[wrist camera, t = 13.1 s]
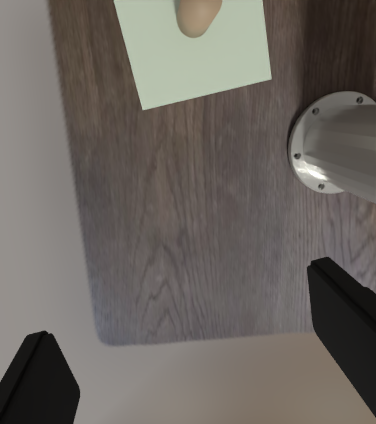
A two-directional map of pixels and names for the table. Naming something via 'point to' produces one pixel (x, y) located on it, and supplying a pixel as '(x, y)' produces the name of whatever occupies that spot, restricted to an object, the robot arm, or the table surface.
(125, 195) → the table surface
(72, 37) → the table surface
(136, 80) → the lid
